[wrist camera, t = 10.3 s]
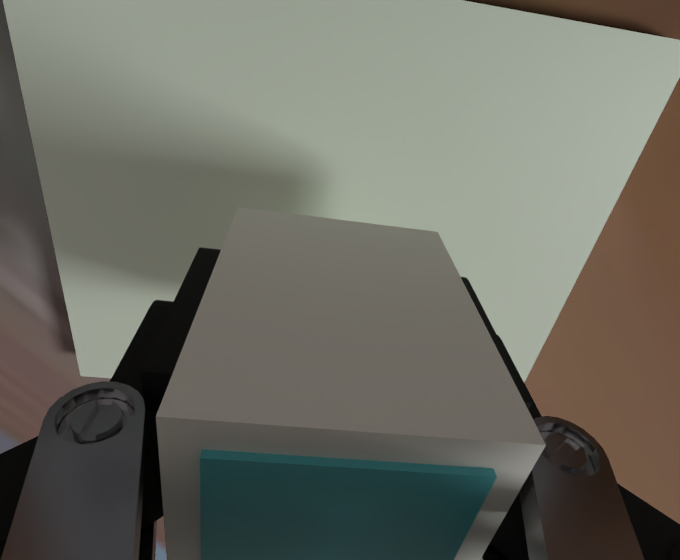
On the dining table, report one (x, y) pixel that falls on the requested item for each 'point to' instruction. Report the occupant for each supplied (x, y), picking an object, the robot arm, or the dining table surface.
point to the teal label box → (338, 402)
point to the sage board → (328, 140)
